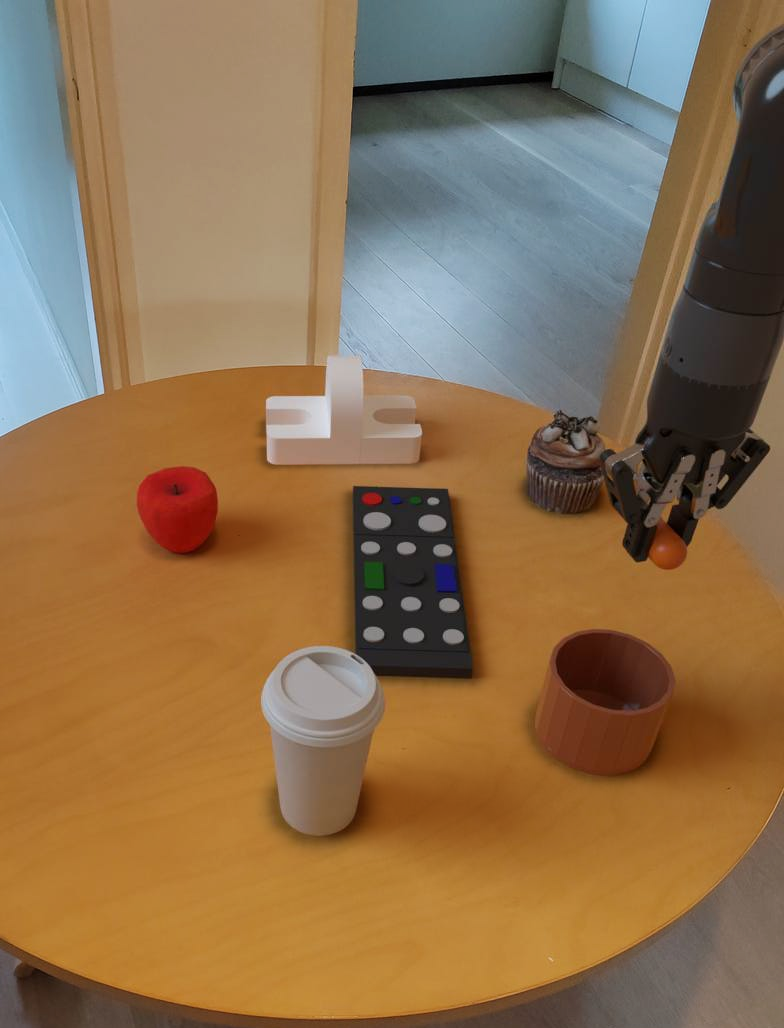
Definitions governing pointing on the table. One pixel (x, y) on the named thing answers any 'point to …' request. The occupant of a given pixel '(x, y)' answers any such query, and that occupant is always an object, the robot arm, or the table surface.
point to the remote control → (408, 584)
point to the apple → (178, 507)
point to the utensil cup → (603, 701)
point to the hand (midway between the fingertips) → (653, 551)
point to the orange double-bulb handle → (667, 547)
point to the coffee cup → (321, 734)
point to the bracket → (342, 423)
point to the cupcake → (565, 464)
